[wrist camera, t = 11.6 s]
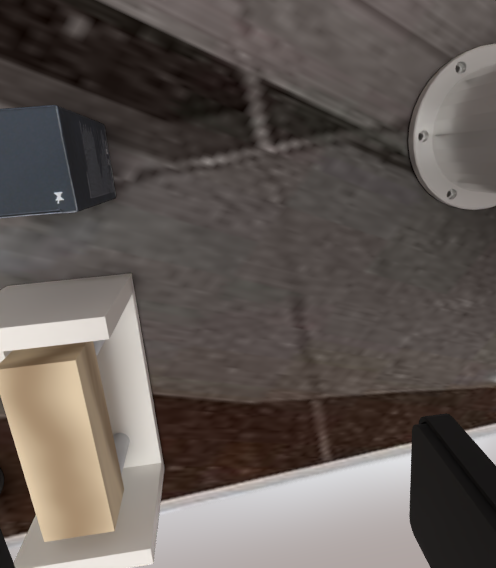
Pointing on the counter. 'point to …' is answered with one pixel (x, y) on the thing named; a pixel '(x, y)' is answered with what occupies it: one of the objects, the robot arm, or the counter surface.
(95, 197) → the box
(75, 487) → the oak board
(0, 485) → the coffee cup
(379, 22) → the counter surface
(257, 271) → the counter surface
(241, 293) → the counter surface
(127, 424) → the peg frame
